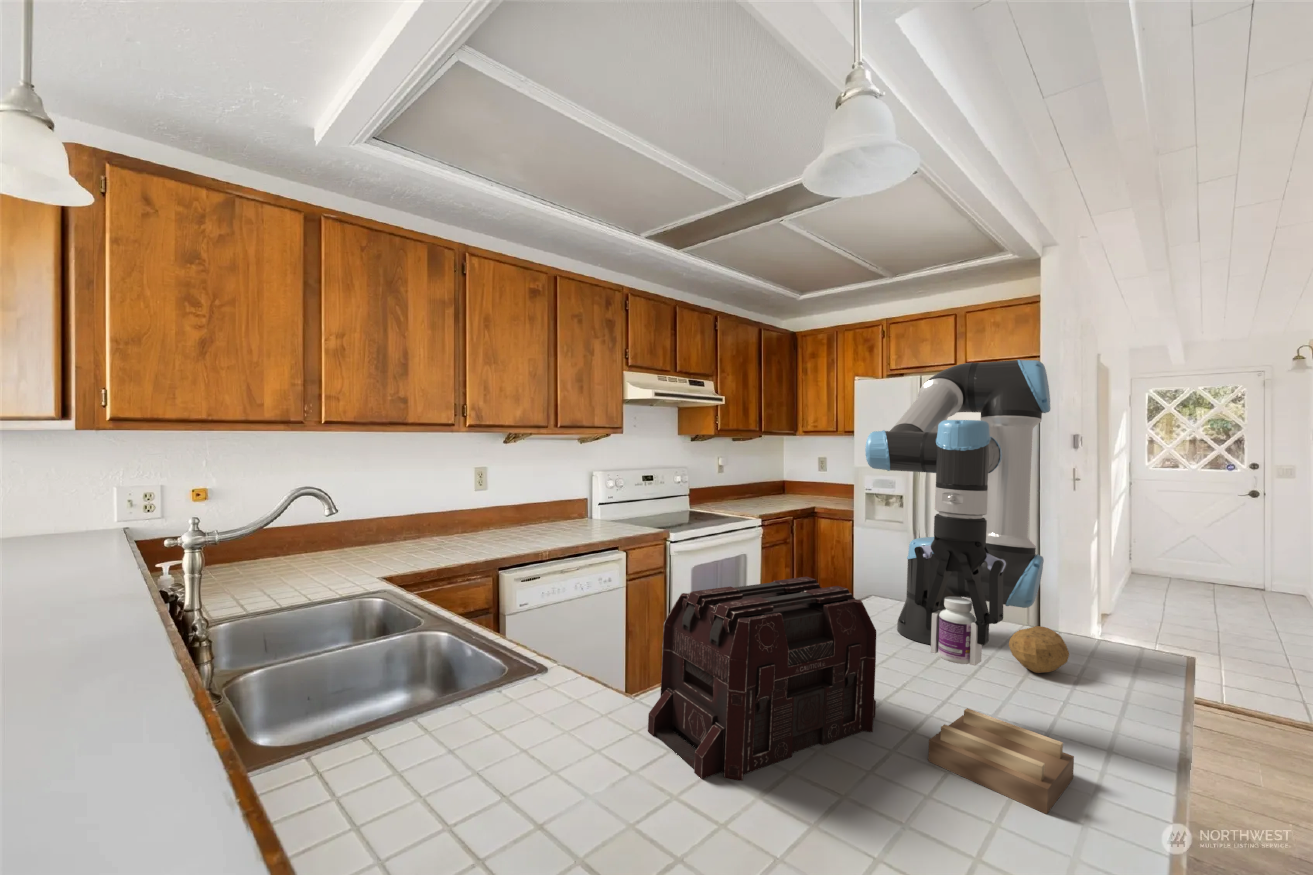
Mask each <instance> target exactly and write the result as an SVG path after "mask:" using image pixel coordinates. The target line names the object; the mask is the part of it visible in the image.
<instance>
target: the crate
mask: <svg viewBox="0 0 1313 875" xmlns="http://www.w3.org/2000/svg"><path fill="white" fill-rule="evenodd" d="M662 630H663V632H662V647H661V648H662V649H661V650H662V652H661V655H662V657H661V676H660V677H661V678H660V696H659V699H658V700H657V701H656V703H655V704H654V705H653V707H652V708H651V710H650V711H649V712H648V718H647V721H648V722H647V733H649V735H651V736H652V737H656V738H657V739H658V740H659V741H661V742H662V743H663V744H664V745H665V746H666V747H668V748H669V749H670V750H671V749H672V750H673V751H674V754H676V753H677V754H676V756H678V755H679V756H680V757H681V758H682V759H681V758H680V757H679V756H678V757H679V758H680V759H681V760H682V761H683V762H685V763H686V764H687V765H688V766H690V767H691V769H693V773H694V774H695V775H696V776H697V777H698V778H699V777H700V780H702V779H705V778H708V777H711V776H714V775H717V774H720V773H721V774H723V779H729V780H732V781H739V782H743V780H744V779H743V778H744V775H746V774H749V773H752V772H754V771H758V770H760V769H762V768H766V767H769V766H771V765H775V764H776V763H779V762H782V761H785V760H788V759H790V758H792V757H793V754H794V753H797V752H799V751H802V750H805V749H808V748H811V747H813V746H816V745H821V746H826V745H829V744H832V743H834V742H837V741H840V740H842V739H846V738H848V737H851V736H852V735H853V736H854V735H856V734H859V733H861V732H866V733H867V732H868V733H874V719H876V707H877V706H876V705H877V701H876V699H875V690H876V689H875V687H876V685H875V684H876V666H877V665H876V662H877V660H876V658H877V630H876V627H875V626H874V623H873V621H872V619H871V617H870V615H869V613H868V611H867V608H866V607H865V604H864V603H863V600H861V599H856V597H853V594H852V593H851V592H850V590H849V589H848V588H846V587H843V586H839V585H834V586H827V587H821V585H820V583H818V581H817V579H815V578H812V577H809V576H802V577H794V578H793V577H792V578H785V579H778V580H773V581H772V582H766V583H765V582H764V583H758V584H757V583H756V584H749V585H743V586H742V585H741V586H724V587H716V588H709V589H700V590H693V591H690V592H688V593H687V592H681V594H680V595H679V597H678V598H677V600H676V601H675V603H674V605H673V607H672V608H671V609H670V612H669V613H668V615H667V617H666V618H665V621H664V622H663V629H662ZM685 740H686V741H685ZM672 750H671V751H672ZM673 751H672V752H673Z"/></svg>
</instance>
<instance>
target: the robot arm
mask: <svg viewBox="0 0 1313 875" xmlns="http://www.w3.org/2000/svg"><path fill="white" fill-rule="evenodd" d="M1049 412H1051V394H1050V386H1049V380H1048V374H1047V370H1046V367H1045V364H1043V363H1042V362H1041V361H1040V360H1036V359H1035V360H1032V359H1030V360H1028V359H1026V360H1025V359H1014V360H1013V359H1012V360H998V361H985V362H984V361H983V362H964V363H960V364H957V365H953V366H950V367H948V368H946V369H944V370H941V371H939V372H938V373H936V374H934V375H933V376H931V377H930V378H929V379H927V380H926V381H925V382H924V383H923V384H922V385H921V387H920V388H919V389H918V392H917V398H916V400H915V401H913V403H912V404H911V405H910V406H909V408H908V409H907V410H906V411H905V413H903V415H902V416H901V418H900V419H898V421H897V422H896V423H895V425H894V426H893V427H892V428H891V429H889V430H885V429H883V430H878V431H876V430H875V431H871V432H870V433H869V435H868V436H867V438H866V442H865V460H866V462H867V465H868V466H869V467H870V468H872V469H875V470H883V471H887V472H890V471H893V472H913V473H929V474H935V489H934V490H935V493H934V494H935V495H934V510H935V511H936V512H938V513H936V514H935V515H934V517H933V519H934V520H933V536H926V537H925V536H924V537H918V538H914V539H912V540H911V541H910V542H909V546H908V554H907V557H906V559H907V570H906V571H907V572H906V573H907V574H906V576H907V577H906V598H905V601H904V604H903V607H902V609H901V612H900V614H899V616H898V619H897V623H896V624H897V625H896V626H897V627H896V630H897V632H898V633H899V634H900V635H901V636H903V637H904V638H907V639H909V640H912V641H915V642H918V643H922V644H927V645H930V653H932V654H936V655H937V654H938V638H939V614H940V612H941V611H942V610H943V609H946V608H945V606H944V598H945V597H960V598H965V599H970V601H971V602H972V610H973V613H974V616H975V618H976V621H975V622H973V623H971V641H970V664H969V665H971V666H977V665H978V664H980V663H981V662H982V652H983V651H982V649H983V648H982V647H983V646H985V645H987V644H988V642H989V639H990V638H989V637H990V625H995V624H996V625H997V624H998V623H1000V622H1001V621H1003V620H1004V605H1005V607H1016V608H1022V609H1025V608H1027V609H1028V608H1030V607H1032V606H1033V605H1034V603H1035V601H1036V600H1037V599H1036V598H1037V595H1038V591H1039V589H1040V584H1041V581H1042V580H1041V579H1042V574H1043V571H1044V556H1042V555H1041V554H1036V549H1037V548H1036V545H1035V544H1034V542H1032V540H1030V539H1029V519H1030V517H1029V516H1030V499H1031V498H1030V497H1031V494H1030V493H1031V474H1032V472H1031V470H1032V455H1033V454H1032V451H1033V449H1032V448H1033V431H1034V428H1035V427H1036V426H1037V425H1039V424H1040V423H1041V422H1042V419H1043V418H1042V417H1043V416H1042V414H1047V413H1049ZM957 413H980V419H978V420H976V419H948V418H951V417H952V416H954V415H955V414H956V415H957ZM987 602H988V604H987Z"/></svg>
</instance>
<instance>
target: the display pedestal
mask: <svg viewBox="0 0 1313 875" xmlns="http://www.w3.org/2000/svg"><path fill="white" fill-rule="evenodd" d="M1063 747H1064V742H1062V741H1060V740H1057V739H1054V738H1051V737H1049V736H1046V735H1042V734H1040V733H1037V732H1035V731H1032V730H1029V729H1026V728H1023V727H1020V726H1018V725H1014V724H1012V723H1009V722H1007V721H1004V720H1001V719H999V718H995V717H993V716H990V715H988V714H984V713H981V712H979V711H976V710H973V709H970V708H966V709H963V714H962V715H961V716H960V717H958V718H957V719H955V720H953V722H951V723H949V725H947V724H943V725H942V726H940V731H939V732H938V733H935V735H933V736H932V737H931V738H929V740H928V757H927V758H928V759H927V760H928V761H927V762H929V763H931V764H933V765H936V766H937V767H940V768H943V769H944V770H947V771H949V772H951V773H954V774H956V775H958V776H960V777H962V778H965V779H967V780H969V781H971V782H974V783H976V784H978V785H980V786H983V787H985V788H986V789H989V790H991V791H994V792H996V793H998V794H1000V795H1002V796H1005V797H1007V798H1010V799H1012V800H1014V801H1017V802H1018V803H1021V804H1023V805H1025V806H1027V807H1029V808H1031V809H1034V810H1036V811H1039V812H1040V813H1043V814H1045V815H1048V813H1049V812H1050V810H1051V809H1052V808H1053V807H1054V805H1055V804H1057V801H1058V799H1060V797H1061V795H1062V794H1063V793H1064V791H1065V790H1066V789H1067V788H1068V786H1069V785H1070V784H1071V782H1072V781H1073V779H1074V770H1075V769H1074V767H1075V756H1074V755H1072V754H1069V753H1066V752H1064V748H1063Z"/></svg>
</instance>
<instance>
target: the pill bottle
mask: <svg viewBox="0 0 1313 875" xmlns="http://www.w3.org/2000/svg"><path fill="white" fill-rule="evenodd" d="M944 606H945V608H946V609H943V610H942V611H941V612H940V614H939V638H938V652H937V654H938V657H940V658H941V659H942V660H945V661H948V662H949V663H954V664H957V665H959V664H960V665H968V664H969V665H970V641H971V623H973V622H975V621H976V617H975V614H973V613H972V612H971V611H972V610H973V605H972V601H971V599H969V598H966V597H962V598H960V597H945V598H944Z"/></svg>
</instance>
